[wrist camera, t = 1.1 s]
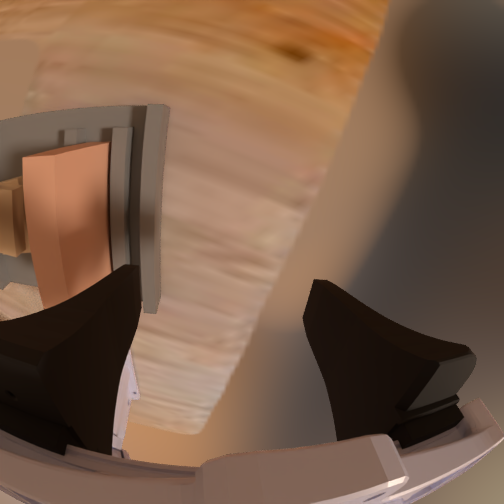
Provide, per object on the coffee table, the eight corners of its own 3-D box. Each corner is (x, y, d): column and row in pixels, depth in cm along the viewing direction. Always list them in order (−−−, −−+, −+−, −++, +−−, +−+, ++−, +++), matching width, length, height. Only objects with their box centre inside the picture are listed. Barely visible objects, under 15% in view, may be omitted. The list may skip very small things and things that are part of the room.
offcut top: (26, 249, 17) (16, 257, 16) (-3, 241, 16) (-12, 249, 15) (23, 185, 15) (12, 190, 14) (-6, 181, 14) (-17, 186, 13)
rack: (160, 296, 23) (156, 314, 21) (8, 275, 20) (-4, 288, 18) (170, 107, 17) (163, 104, 15) (-6, 122, 14) (-23, 125, 12)
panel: (116, 272, 20) (79, 340, 13) (94, 270, 20) (52, 334, 13) (114, 141, 16) (54, 155, 9) (89, 142, 16) (22, 157, 9)
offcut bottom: (41, 244, 18) (33, 252, 17) (11, 247, 18) (3, 254, 17) (28, 174, 16) (17, 178, 15) (-2, 182, 16) (-13, 186, 14)
